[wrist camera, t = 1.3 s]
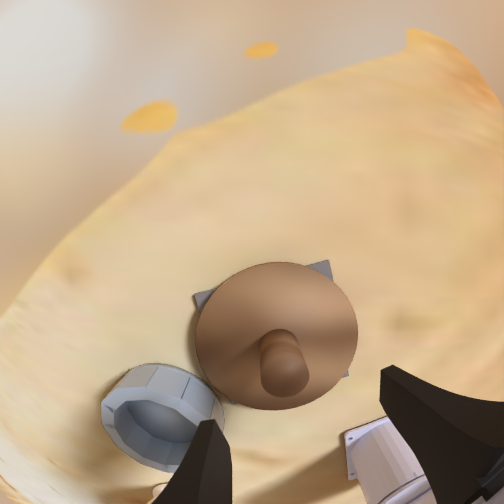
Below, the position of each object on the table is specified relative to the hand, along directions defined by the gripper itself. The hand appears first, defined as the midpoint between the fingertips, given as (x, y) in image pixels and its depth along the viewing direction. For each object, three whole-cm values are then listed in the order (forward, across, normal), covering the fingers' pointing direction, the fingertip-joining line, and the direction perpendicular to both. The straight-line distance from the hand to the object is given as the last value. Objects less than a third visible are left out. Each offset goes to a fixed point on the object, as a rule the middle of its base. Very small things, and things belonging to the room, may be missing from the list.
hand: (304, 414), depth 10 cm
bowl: (+10, +11, +7) cm, 17 cm away
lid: (+10, 0, +2) cm, 10 cm away
